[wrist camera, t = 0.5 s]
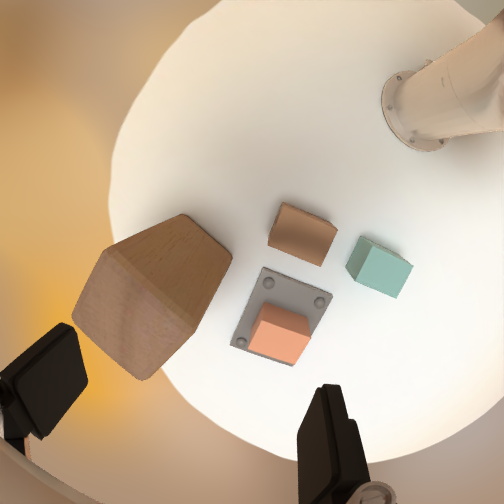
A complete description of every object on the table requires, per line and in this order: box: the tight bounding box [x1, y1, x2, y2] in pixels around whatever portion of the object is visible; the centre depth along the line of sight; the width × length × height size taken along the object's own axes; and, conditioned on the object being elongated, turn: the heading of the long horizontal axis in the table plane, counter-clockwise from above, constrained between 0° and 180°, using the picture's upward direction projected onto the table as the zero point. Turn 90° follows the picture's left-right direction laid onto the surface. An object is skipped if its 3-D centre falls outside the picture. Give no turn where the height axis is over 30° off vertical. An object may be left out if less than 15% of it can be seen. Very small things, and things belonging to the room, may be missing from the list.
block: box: [72, 214, 232, 381], centre depth 30 cm, size 10×10×20 cm
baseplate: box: [230, 267, 333, 366], centre depth 38 cm, size 14×11×6 cm
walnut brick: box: [268, 202, 338, 267], centre depth 35 cm, size 5×7×6 cm
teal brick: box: [345, 236, 413, 298], centre depth 35 cm, size 5×7×6 cm
